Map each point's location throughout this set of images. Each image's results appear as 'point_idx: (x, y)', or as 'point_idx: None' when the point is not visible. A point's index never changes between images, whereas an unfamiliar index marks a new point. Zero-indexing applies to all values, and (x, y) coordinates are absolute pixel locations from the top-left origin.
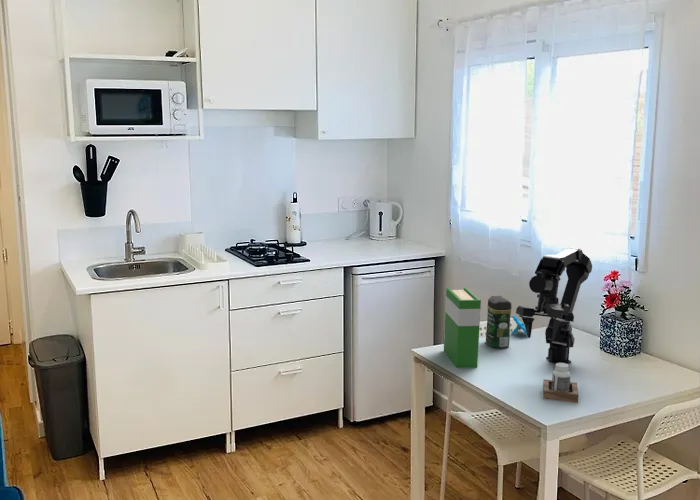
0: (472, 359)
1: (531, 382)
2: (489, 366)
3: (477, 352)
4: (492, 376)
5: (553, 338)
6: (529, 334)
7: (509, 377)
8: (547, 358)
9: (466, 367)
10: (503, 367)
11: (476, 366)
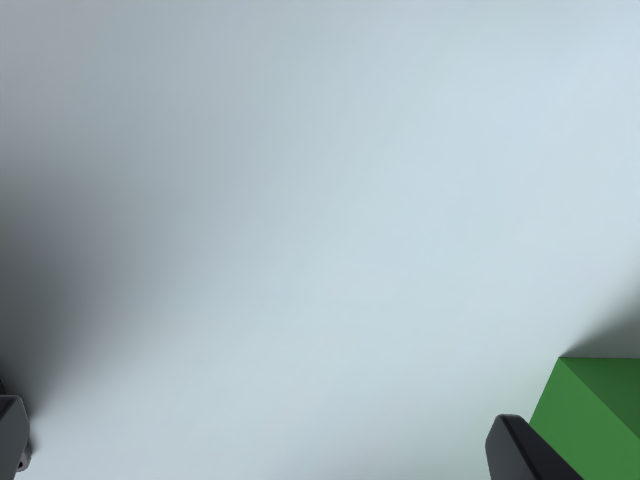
0: (622, 392)
1: (398, 30)
2: (486, 363)
3: (633, 428)
4: (580, 209)
5: (10, 442)
6: (557, 460)
7: (491, 170)
8: (24, 450)
9: (614, 358)
10: (416, 341)
11: (566, 361)
